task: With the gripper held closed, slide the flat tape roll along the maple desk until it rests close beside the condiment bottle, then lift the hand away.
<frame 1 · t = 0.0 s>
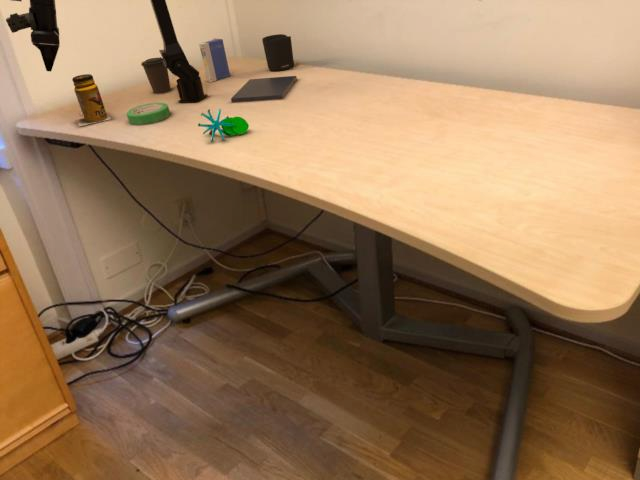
hand: (49, 68, 155), 15 cm above the table, tool pointing down, fingers open, 9 cm apart
blue white rectangular box: (219, 79, 194), on the table
black speaker: (281, 68, 198), on the table
coffee cup: (162, 91, 186), on the table
notebook: (265, 90, 175), on the table
tape roll: (150, 119, 161), on the table
stick construction toy: (224, 136, 142), on the table
condiment: (93, 121, 165), on the table
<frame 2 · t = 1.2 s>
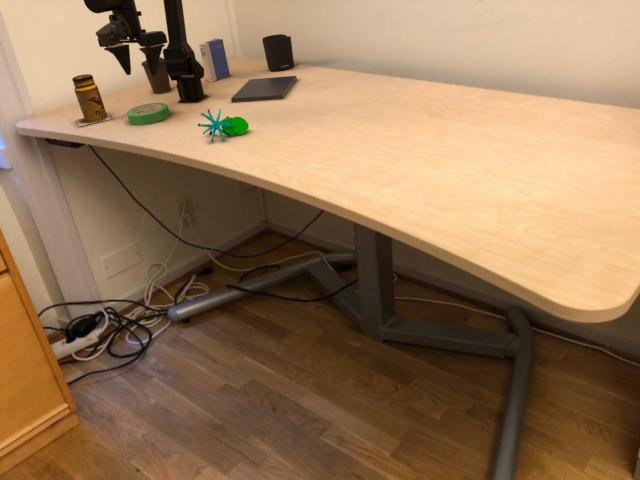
hand: (141, 75, 149), 13 cm above the table, tool pointing down, fingers open, 9 cm apart
nothing on the table moved.
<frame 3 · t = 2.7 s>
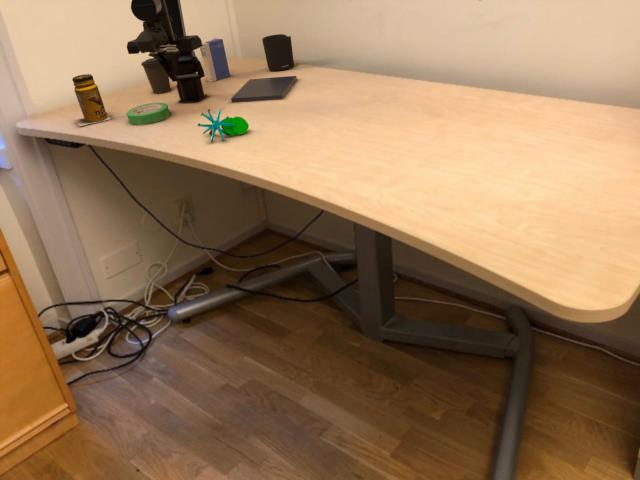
hand: (173, 79, 153), 10 cm above the table, tool pointing down, fingers closed
nothing on the table moved.
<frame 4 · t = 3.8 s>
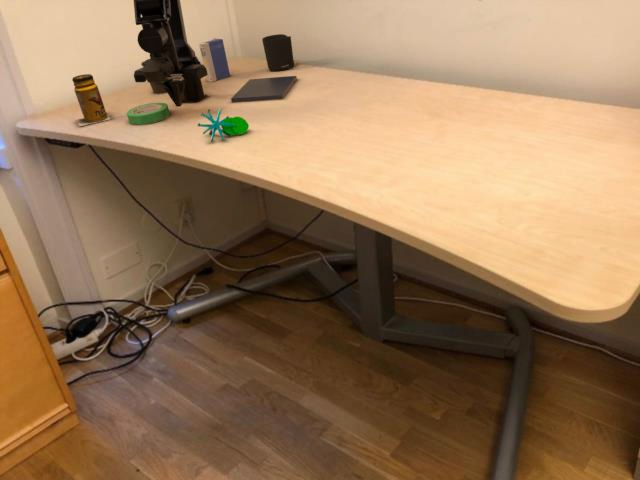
hand: (178, 106, 157), 3 cm above the table, tool pointing down, fingers closed
nothing on the table moved.
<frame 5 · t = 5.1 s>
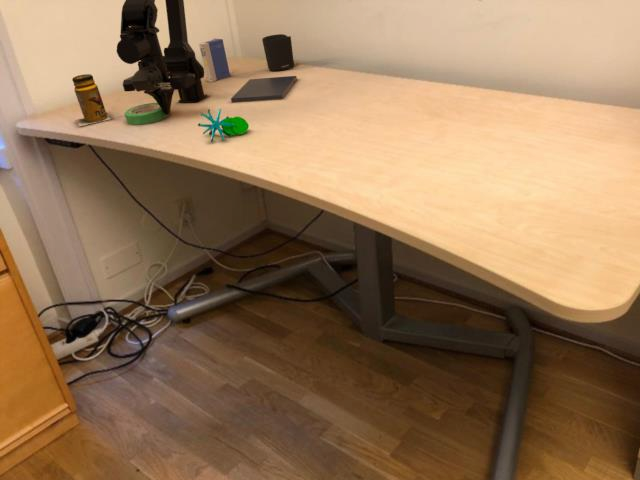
hand: (167, 114, 159), 1 cm above the table, tool pointing down, fingers closed
tape roll: (148, 119, 161), on the table, touching gripper
everything else where it was.
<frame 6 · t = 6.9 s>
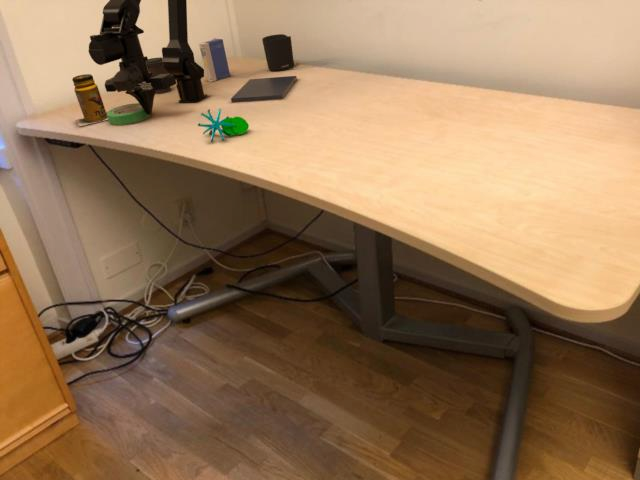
hand: (149, 114, 160), 1 cm above the table, tool pointing down, fingers closed
tape roll: (130, 119, 163), on the table, touching gripper
everything else where it was.
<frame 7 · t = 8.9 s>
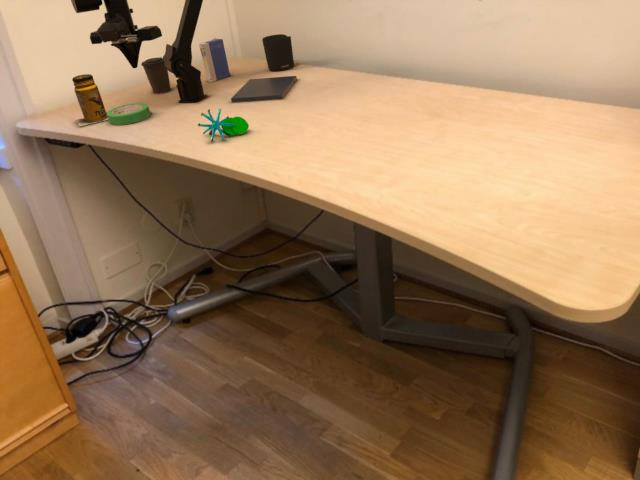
hand: (135, 67, 162), 12 cm above the table, tool pointing down, fingers closed
tape roll: (130, 119, 163), on the table
everything else where it was.
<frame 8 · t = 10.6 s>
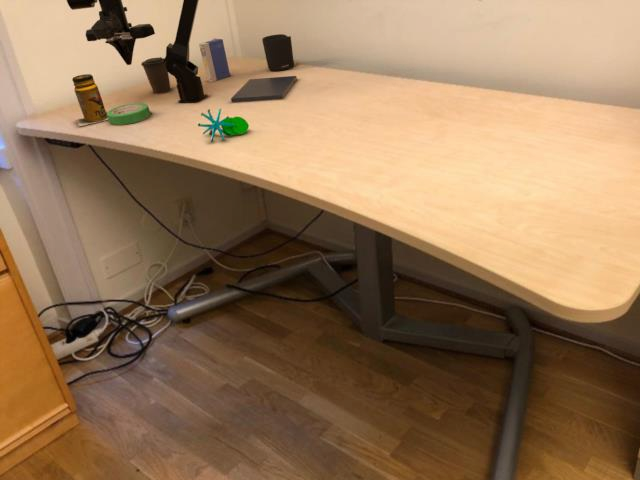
hand: (129, 64, 166), 12 cm above the table, tool pointing down, fingers closed
nothing on the table moved.
at the end: tape roll 11.5 cm from the condiment (horizontally); tape roll moved 6.3 cm from its start; condiment moved 0.2 cm from its start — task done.
